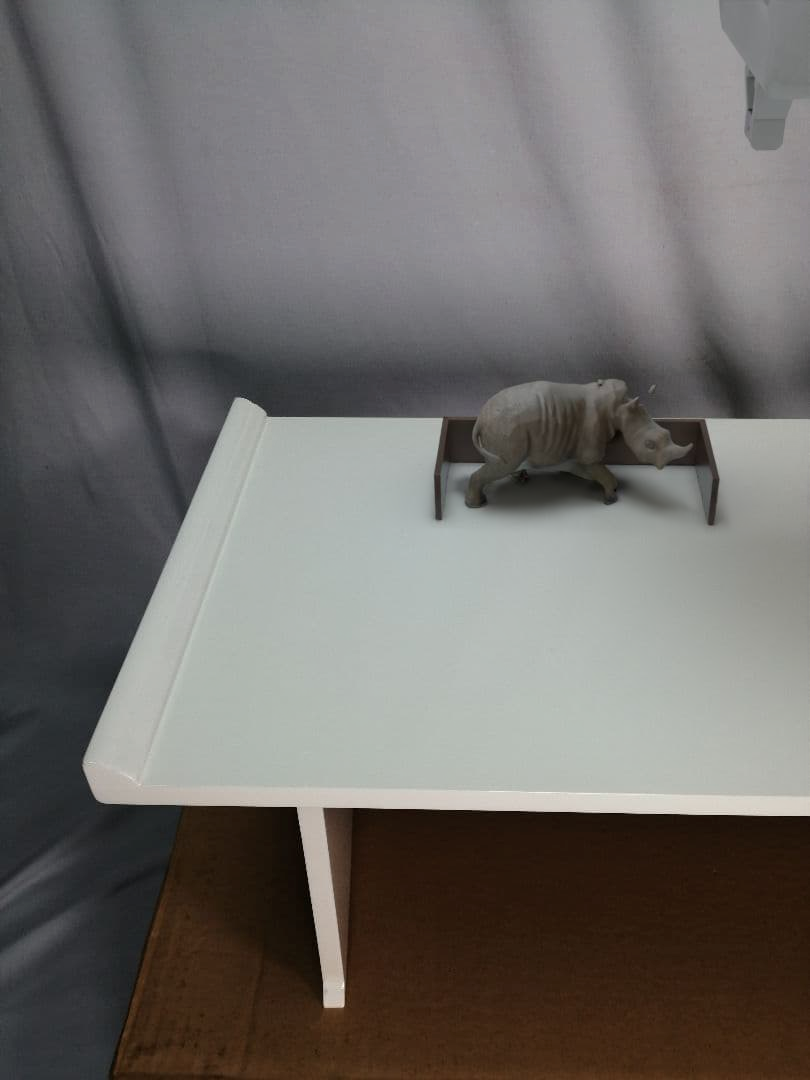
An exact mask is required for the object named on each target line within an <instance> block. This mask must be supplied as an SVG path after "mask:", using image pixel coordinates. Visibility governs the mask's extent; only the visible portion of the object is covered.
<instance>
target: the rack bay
mask: <svg viewBox="0 0 810 1080" xmlns="http://www.w3.org/2000/svg"><path fill="white" fill-rule="evenodd" d="M477 418H478V416H443V417H442V421H441V427H440V435H439V441H438V446H437V452H436V458H435V459H436V460H435V464H434V467H435V468H434V472H433V486H434V487H433V489H434V491H433V492H434V515H435V516H434V517H435V520H443V513H444V507H445V498H446V492H447V486H448V485H447V484H448V477H449V470H450V463H485V457H484V456H483V455H482V454H481V453H480V452H479V451H478V449H477V448H476V447H475V445H474V444H473V440H472V435H473V433H472V431H473V428H474V426H475V423H476V421H477ZM652 419H653V420H654V421H655V423H657V424H658V425H659V426H660V427H662V428H664V429H666V430H668V431H669V432H670V438H671V440H672V442H673V443H674V444H675V445H678V446H680V447H686V446H688V445H690V444H691V443H692V444H693V446H692V448H691V450H689V451H688V452H687V454H686V455H685V456H683V457H681V458H677V459H673V460H671V461H669V462H668V463H667V464H666V465H669V466H670V465H671V466H673V465H674V466H677V465H678V466H694V467H695V472H696V476H697V481H698V486H699V490H700V495H701V499H702V505H703V510H704V514H705V519H706V524H707V525H715V521H716V512H717V504H718V497H719V487H720V475H719V470H718V467H717V462H716V459H715V454H714V450H713V446H712V442H711V438H710V434H709V429H708V424H707V421H706V418H653V417H652ZM604 451H605V455H604V456H603V457H602V461H603V463H604V465H654V464H653V463H650V462H641V461H639V460H638V459H637V458H636V456H635V454H634V453H633V451H632V450H631V449H630V448H629V447H628V446H627V445H626V443H625V442H624V443H621V444H616V445H606V447H605V450H604ZM666 465H665V466H666Z"/></svg>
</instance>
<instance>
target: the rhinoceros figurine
mask: <svg viewBox="0 0 810 1080" xmlns="http://www.w3.org/2000/svg"><path fill="white" fill-rule="evenodd" d="M657 387H658V386H657V384H653V385H652V386H650V388H649V390H648V391H647V394H649V395H653V394H655V391H656V389H657ZM628 389H629V388H628V387H627V384H626V381H624V380H621V379H617V378H608V379H605V380H604V379H597V382H594V381H593V382H590V383H585V384H580V383H560V382H553V381H548V380H536V381H531V382H525V383H521V384H517V385H513V386H509V387H507V388H504V389H502V390H500V391H498V392H497V393H496V394H494V395H493V396H492V397H490V398H489V399H488V400H487V401H486V403H485V404H484V405H483V407H482V409H481V410H480V411H479V414H478V416H477V417H478V418H477V421H476V423H475V426H474V428H473V431H472V433H473V435H472V440H473V444H474V445H475V447H476V448H477V449H478V451H479V452H480V453H481V454H482V455H483V456H484V457H485V462H484V464H483V465H481V467H479V468H478V469H476V471H473V473H471V474H470V478H469V481H468V487H467V488H466V489H465V491H464V493H465V494H464V501H465V503H466V505H467V507H468V508H479V507H480V508H482V507H484V506H485V505H486V504H488V500H487V495H486V494H485V493H484V488H485V487H486V486H487V485H490V484H492V483H493V482H497V481H500V480H504V479H505V478H511V479H512V480H513V481H514V483H516V484H521V485H523V484H524V482H525V480H526V478H528V479H530V476H531V475H532V472H527V470H529V471H530V470H531V471H559V473H569V474H572V475H574V476H576V477H580V478H583V479H585V480H588V481H596V482H597V483H599V484H600V485H601V486H602V487H603V488H604V490H605V493H604V498H603V500H604V504H605V505H607V506H608V505H610V504H612V503H614V502H617V501H618V500H619V497H618V496H617V493H616V492H617V488H618V483H617V480H616V476H615V474H614V473H612V471H611V470H610V469H609V468H608V467H606V464H604V463H603V461H602V457H603V456H604V455H605V451H604V450H605V447H606V445H616V444H621V443H624V442H625V443H626V445H627V446H628V447H629V448H630V449H631V450H632V451H633V453H634V454H635V456H636V458H637V459H638V460H639V461H641V462H650V463H653V464H652V465H654V467H656V469H657V470H658V471H662V470H663V469H664V468H665V467H666V464H667V463H668V462H669V461H671V460H673V459H677V458H681V457H683V456H685V455H686V454H687V452H688V451H689V450H691V448H692V446H693V444H692V443H691V444H690V445H688V446H686V447H680V446H678V445H675V444H674V443H673V442H672V440H671V438H670V432H669V431H668V430H666V429H664V428H662V427H660V426H659V425H658V424H657V423H655V421H654V420H653V419H652V418H653V417H652V416H651V415H650V414H649V411H648V410H647V408H646V406H645V404H642V403H640V404H639V402H640V398H641V397H640V396H636V397H635V398H630V397H628V396H627V393H628Z"/></svg>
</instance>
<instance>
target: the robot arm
mask: <svg viewBox="0 0 810 1080" xmlns="http://www.w3.org/2000/svg"><path fill="white" fill-rule="evenodd" d="M718 5H719V6H718V7H719V18H720V19H719V20H720V25H721V29H722V31H723V33H724V34H725V35H726V36H727V39H728V40H729V41H730V43H731V45H732V46H733V47H734V48H735V50H736V51H737V53H738V54H739V56H740V57H741V59H742V60H743V62H744V64H745V67H744V88H745V89H744V90H745V107H746V108H745V117H744V125H743V133H744V135H745V137H746V139H747V140H748V142H749V145H750V146H751V148H752V149H753V150H755V151H759V152H760V151H776V150H778V149H780V148H781V147H782V145H783V143H784V134H785V128H786V120H787V118H788V115H789V113H790V110H791V106H792V103H793V101H794V100H810V0H718Z"/></svg>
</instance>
